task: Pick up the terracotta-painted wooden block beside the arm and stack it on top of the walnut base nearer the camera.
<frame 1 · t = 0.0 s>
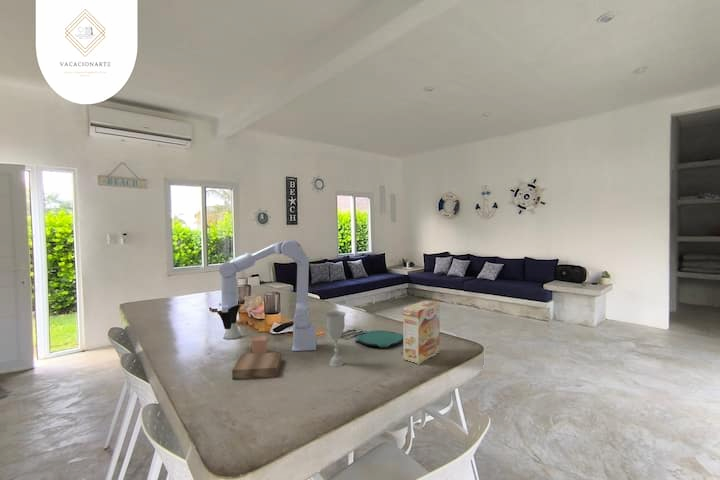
hand: (230, 326, 137), 10 cm above the table, tool pointing down, fingers open, 7 cm apart
flask: (232, 337, 154), on the table
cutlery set: (370, 340, 150), on the table
coffeecake box: (422, 357, 129), on the table
walnut base: (258, 368, 120), on the table
terracotta block: (260, 353, 134), on the table
chalice: (336, 364, 124), on the table
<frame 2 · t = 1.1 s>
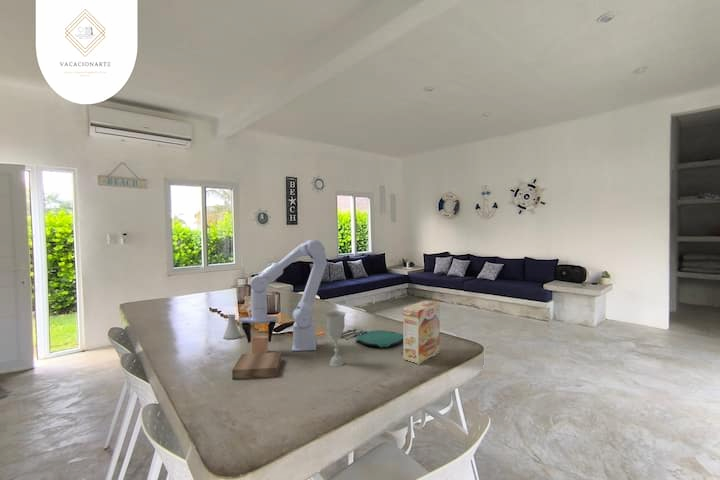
hand: (259, 341, 134), 5 cm above the table, tool pointing down, fingers open, 7 cm apart
nothing on the table moved.
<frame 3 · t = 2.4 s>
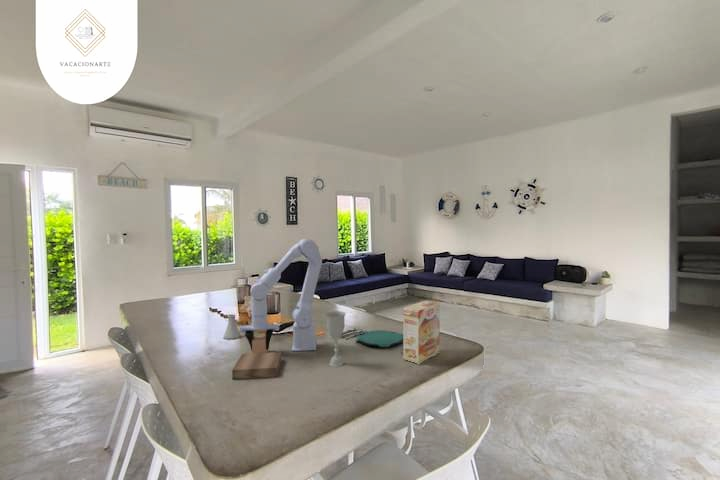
hand: (260, 349, 134), 2 cm above the table, tool pointing down, fingers closed on terracotta block, 5 cm apart
terracotta block: (260, 353, 134), on the table, touching gripper
everything else where it was.
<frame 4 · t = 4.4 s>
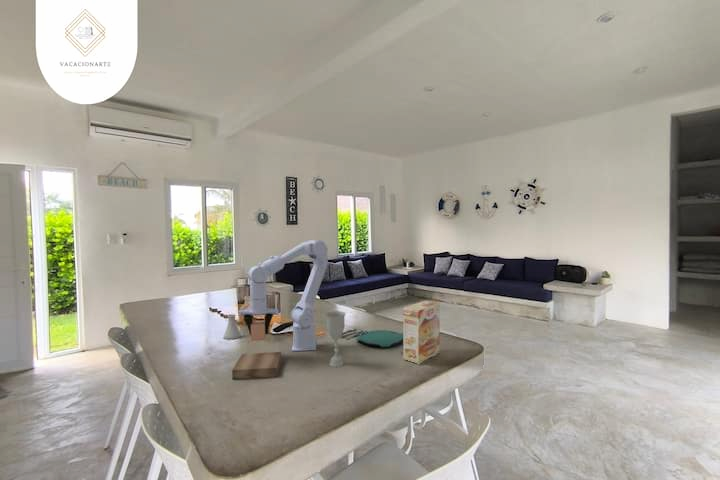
hand: (259, 334, 130), 9 cm above the table, tool pointing down, fingers closed on terracotta block, 5 cm apart
terracotta block: (259, 338, 131), point 7 cm above the table, touching gripper
everything else where it was.
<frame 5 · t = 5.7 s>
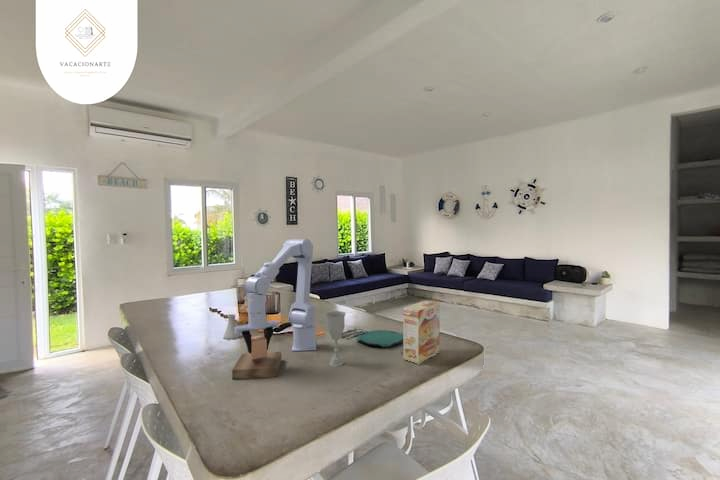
hand: (258, 350, 119), 6 cm above the table, tool pointing down, fingers closed on terracotta block, 5 cm apart
terracotta block: (257, 355, 120), point 5 cm above the table, touching gripper
everything else where it was.
when the fingers open (6 cm above the table, at t = 6.6 s): terracotta block drops 1 cm, resting on walnut base.
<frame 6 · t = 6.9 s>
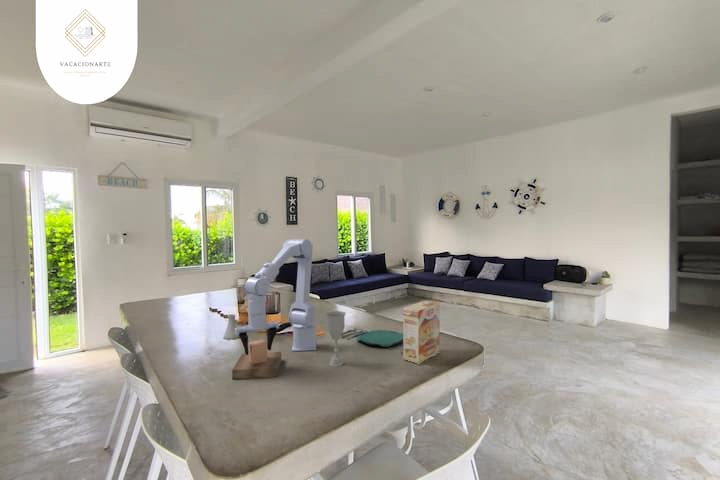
hand: (258, 351, 119), 6 cm above the table, tool pointing down, fingers open, 7 cm apart
terracotta block: (258, 360, 120), point 3 cm above the table, touching walnut base
everything else where it was.
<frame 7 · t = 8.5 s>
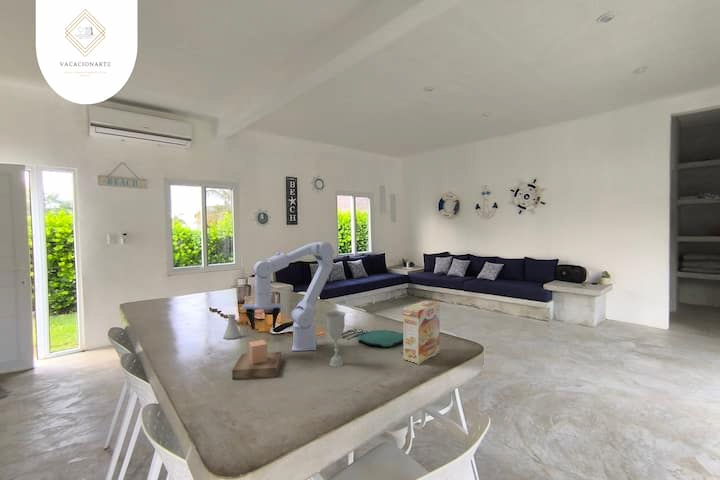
hand: (263, 328, 132), 10 cm above the table, tool pointing down, fingers open, 7 cm apart
nothing on the table moved.
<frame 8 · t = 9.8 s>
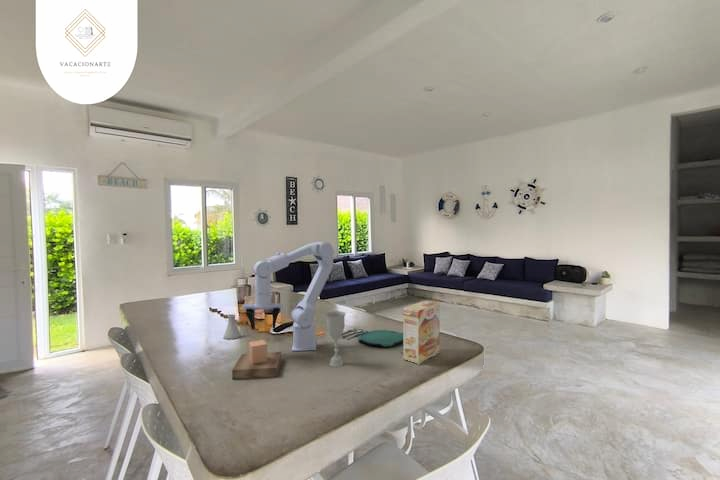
hand: (263, 328, 132), 10 cm above the table, tool pointing down, fingers open, 7 cm apart
nothing on the table moved.
at the end: terracotta block inside the target area on the walnut base (0.2 cm from its centre), point 3.0 cm above the walnut base's base; terracotta block tilted 0°; the gripper is holding nothing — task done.
